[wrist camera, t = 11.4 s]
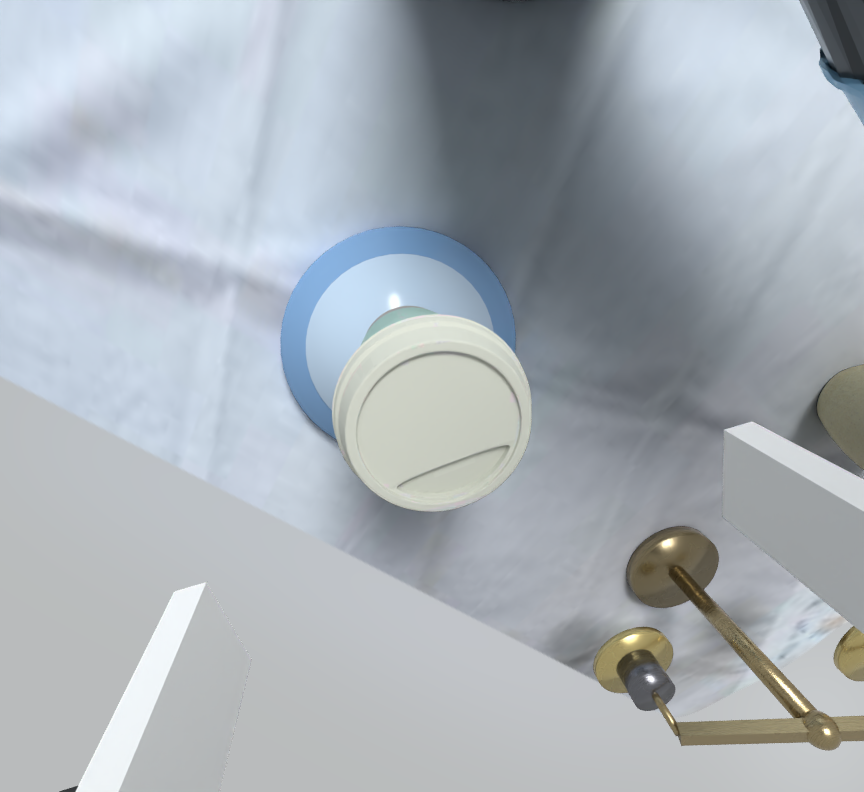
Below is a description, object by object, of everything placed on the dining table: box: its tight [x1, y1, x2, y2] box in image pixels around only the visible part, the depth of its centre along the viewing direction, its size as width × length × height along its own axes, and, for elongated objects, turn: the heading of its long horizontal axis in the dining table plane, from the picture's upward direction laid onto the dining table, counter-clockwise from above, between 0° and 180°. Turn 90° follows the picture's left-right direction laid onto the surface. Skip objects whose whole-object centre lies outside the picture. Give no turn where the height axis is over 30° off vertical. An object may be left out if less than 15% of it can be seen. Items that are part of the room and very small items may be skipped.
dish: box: [281, 226, 516, 440], centre depth 29 cm, size 15×15×1 cm
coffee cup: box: [332, 306, 532, 512], centre depth 23 cm, size 9×9×12 cm
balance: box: [593, 526, 864, 750], centre depth 33 cm, size 8×21×17 cm, turn 104°
